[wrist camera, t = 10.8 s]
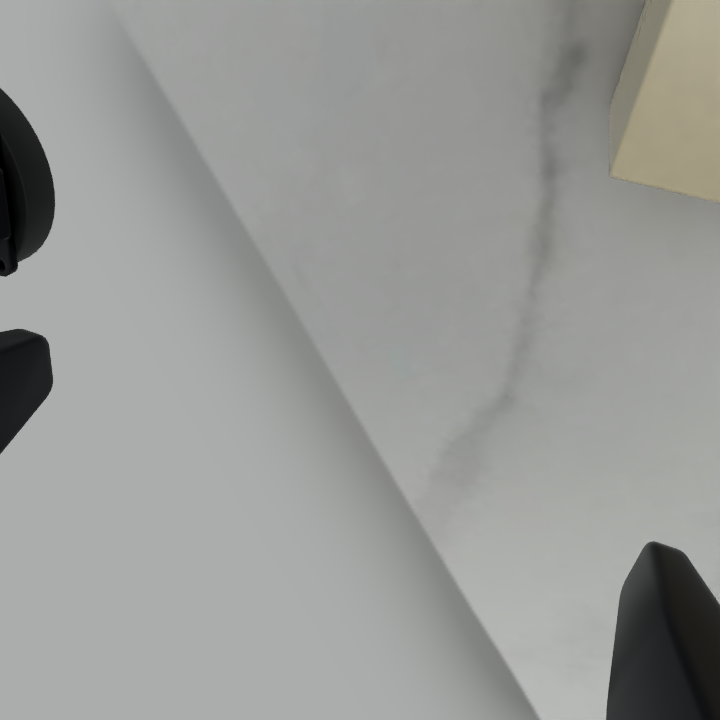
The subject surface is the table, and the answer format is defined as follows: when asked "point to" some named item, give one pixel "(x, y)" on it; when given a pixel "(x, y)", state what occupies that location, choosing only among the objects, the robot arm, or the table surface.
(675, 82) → the toaster
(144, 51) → the table surface
